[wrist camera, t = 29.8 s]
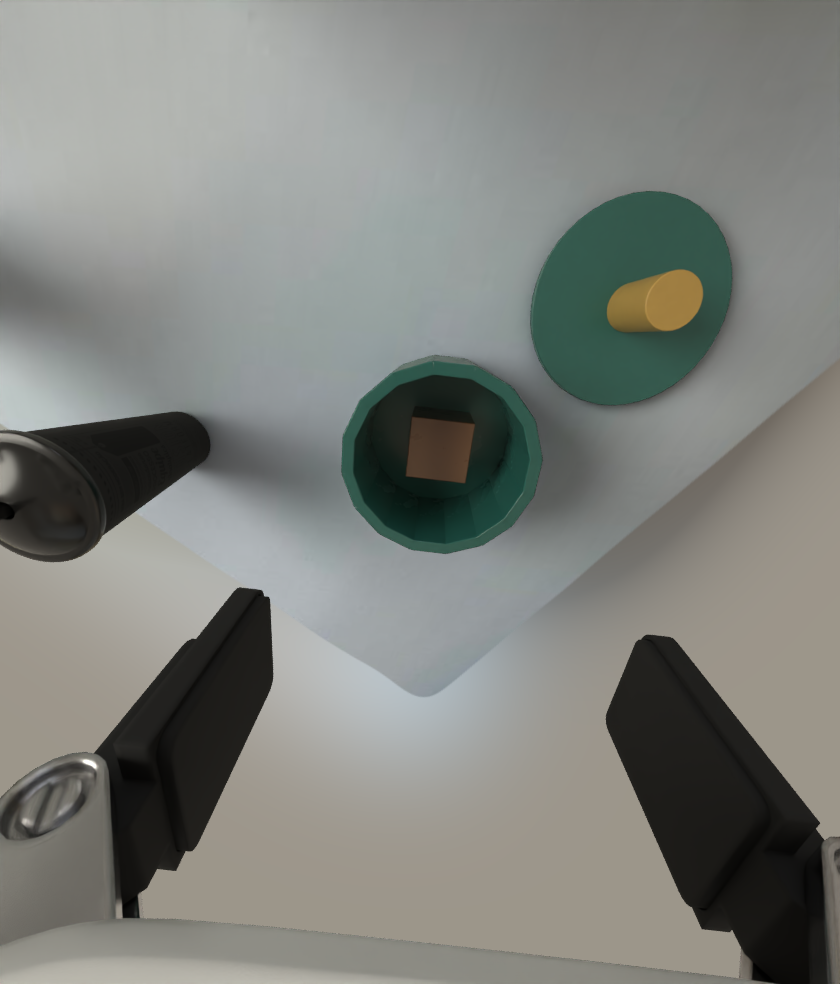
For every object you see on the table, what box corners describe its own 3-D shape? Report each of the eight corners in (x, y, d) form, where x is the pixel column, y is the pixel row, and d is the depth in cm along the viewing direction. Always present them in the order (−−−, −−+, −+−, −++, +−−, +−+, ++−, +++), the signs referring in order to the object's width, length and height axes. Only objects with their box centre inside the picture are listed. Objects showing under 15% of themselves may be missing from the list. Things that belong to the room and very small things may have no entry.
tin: (360, 495, 35) (338, 541, 27) (369, 346, 30) (345, 350, 22) (499, 511, 35) (518, 562, 27) (529, 365, 30) (563, 375, 22)
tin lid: (512, 392, 31) (531, 406, 25) (552, 185, 26) (589, 137, 20) (680, 412, 31) (741, 430, 25) (753, 209, 26) (853, 168, 20)
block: (409, 459, 33) (405, 476, 29) (414, 405, 31) (411, 416, 27) (461, 465, 33) (465, 484, 29) (470, 412, 31) (475, 424, 27)
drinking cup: (128, 392, 32) (-297, 468, 13) (218, 396, 32) (-86, 477, 13) (149, 479, 35) (-178, 639, 16) (232, 482, 35) (-2, 649, 16)
